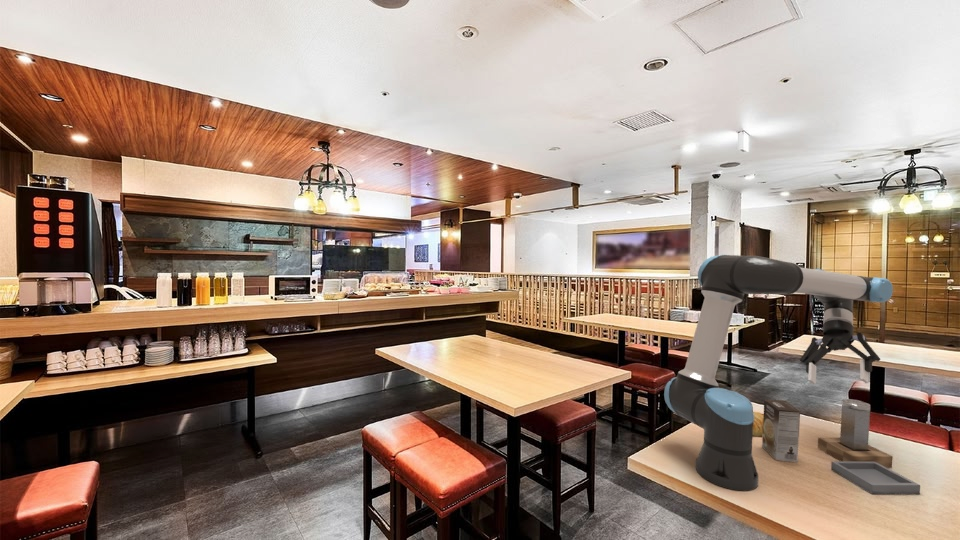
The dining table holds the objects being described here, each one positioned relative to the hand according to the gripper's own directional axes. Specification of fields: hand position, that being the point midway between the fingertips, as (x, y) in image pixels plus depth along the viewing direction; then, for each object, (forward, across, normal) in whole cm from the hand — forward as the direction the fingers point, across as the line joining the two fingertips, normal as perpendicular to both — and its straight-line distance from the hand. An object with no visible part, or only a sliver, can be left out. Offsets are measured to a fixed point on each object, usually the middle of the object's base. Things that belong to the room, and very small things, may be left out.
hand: (837, 381), depth 124 cm
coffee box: (+25, +15, -1) cm, 29 cm away
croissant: (+15, +28, -7) cm, 33 cm away
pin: (+16, +4, -18) cm, 24 cm away
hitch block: (+16, +4, -18) cm, 24 cm away
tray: (+26, -4, -10) cm, 28 cm away
